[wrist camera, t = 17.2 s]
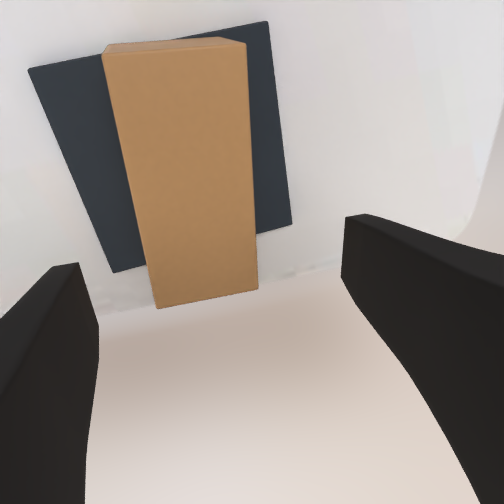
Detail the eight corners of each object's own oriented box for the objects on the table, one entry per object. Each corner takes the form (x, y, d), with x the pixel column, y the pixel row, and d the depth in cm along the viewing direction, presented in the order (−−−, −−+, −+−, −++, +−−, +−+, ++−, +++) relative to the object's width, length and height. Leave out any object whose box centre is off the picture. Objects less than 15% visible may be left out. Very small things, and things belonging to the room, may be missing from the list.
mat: (113, 268, 22) (113, 273, 21) (29, 68, 16) (26, 69, 16) (289, 220, 23) (292, 224, 23) (265, 20, 18) (268, 20, 17)
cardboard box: (236, 242, 22) (259, 289, 18) (151, 257, 21) (156, 310, 18) (220, 36, 17) (246, 42, 13) (106, 44, 16) (100, 53, 12)
